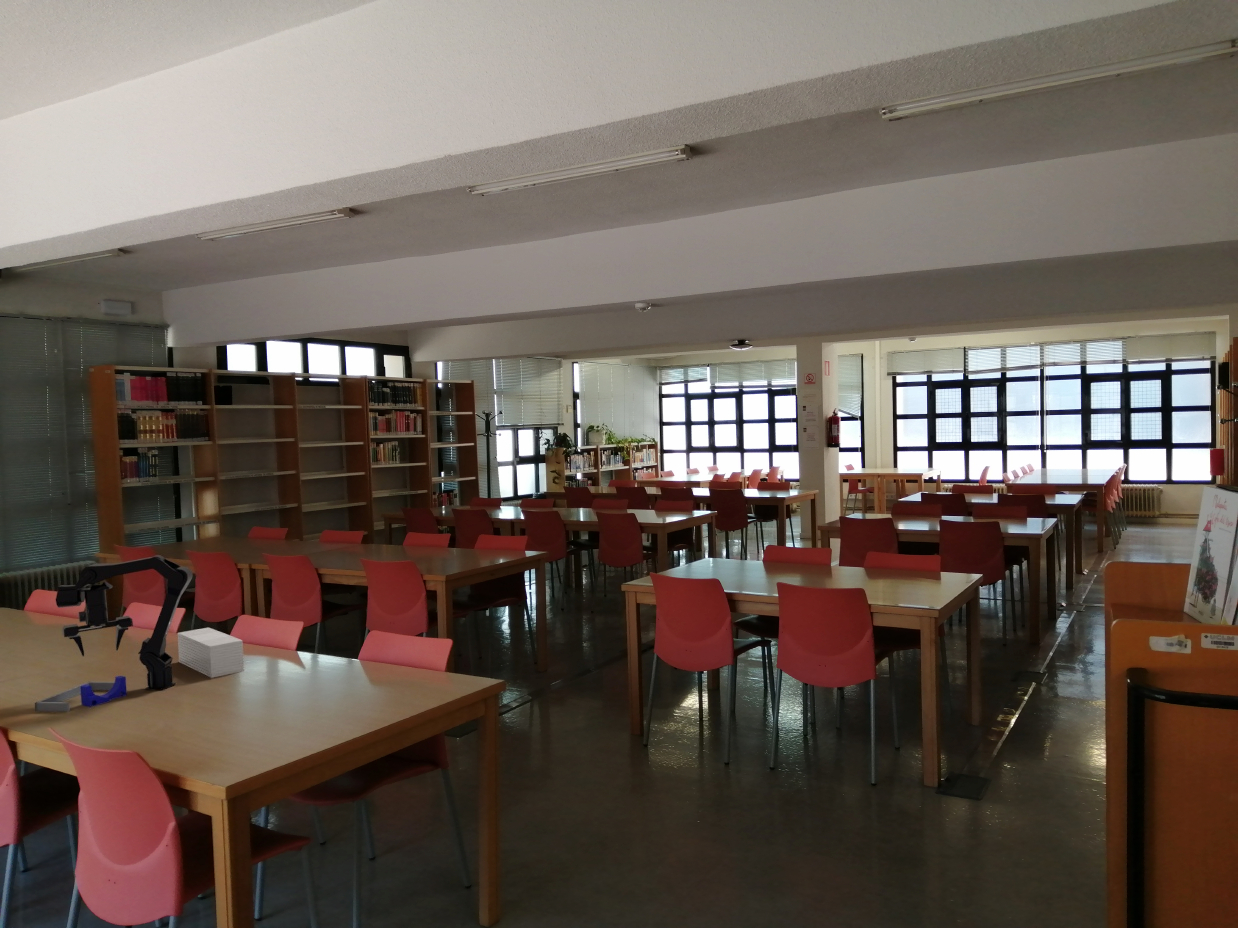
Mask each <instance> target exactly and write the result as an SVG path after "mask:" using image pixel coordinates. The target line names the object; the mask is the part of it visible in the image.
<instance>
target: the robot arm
mask: <svg viewBox="0 0 1238 928" xmlns="http://www.w3.org/2000/svg"><path fill="white" fill-rule="evenodd" d="M149 570H154V571H156V572H157V573H159V575H160V576H162V578H165V579H166V580H167V584H166V596H165V599H164V601H163V604H162V607H161V609H160V612H159V616H158V618H157V619H156V623H155V627H154V629H153V632H152V634H151V637H149V636H148V637H147V638H145V639H144V640H143V641H142V643H141V647H140V651H139V652H138V655H139V657H138V659H139V661H140V663H141V664H142V665H144V666H145V668H146V670H147V673H146V679H147V686H146V687H145V690H150V691H151V690H160V691H161V690H166V689H169V688H170V687H173V686H174V685H177V683H176V682H175V681H173V668H172V666H170V665H172V663H173V659H174V658H173V657H172V656H171V655H170V654H168V653H167V652H166V646H167V636H168V633H169V630H170V627H171V624H172V622H173V620H174V616H175V613H176V612H177V611H176V610H177V607H178V605H179V603H180V599H181V597H182V595H183V593H184V592H185V591H186V589H187V587H188V586H189V584H190V582H191V580H192V579H193V577H194V576H193V575H194V574H193V573H194V572H193V571H192V570H191V569H190V568H189V567H187V566H181V565H179V564H178V563H176V562H174V561H171V560H169V559H167V558H165V557H164V556H162V555H160V554H156V555H154V556H150V557H144V558H140V559H135V560H134V559H133V560H128V561H123V562H117V563H107V562H106V563H93V564H90V565H88V566H85V567H84V568H82V570H81V571H80V578H79V579H78V580H77V581H76V583H75V584H70V585H59V586H57V591H56V595H55V597H56V598H55V604H56V606H57V608H61V609H62V608H70V607H79V606H80V607H81V605H82V603H84V604H85V610H83V611H79V612H78V621H79V623H85V625H78V624H77V623H75V624H73V623H72V624H67V625H64V626H62V628H61V629H62V630H61V632H62V636H63V638H68V639H69V640H73V641H74V642H75V644H76V646H77V648H78V650H79V652H80V653H81V657H85V650H84V646H83V641H82V638H81V635H80V633H82V632H88V631H94V630H100V629H107V628H113V627H115V651H116V652H117V651H118V650H119V647H120V644H121V641H122V638H123V637H124V634H125V632H126V631H128V630H129V628H130V627H133V626H134V623H133V622H134V621H133V618H131V617H130V615H125V616H119V617H116V618H115V620H110V621H109V619H108V617H109V616H108V607H107V606H108V603H107V594H106V590H107V591H108V590H110V589H112V588H113V587H114V586H113V584H111V583H108V581H107V579H111V578H113V577H117V576H122V575H128V574H133V573H138V572H143V571H149ZM102 581H103V582H102ZM99 582H100V584H97V583H99ZM101 582H102V583H101ZM90 585H91V586H90ZM87 586H90V587H87ZM85 587H86V588H85Z"/></svg>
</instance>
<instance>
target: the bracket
mask: <svg viewBox="0 0 1238 928" xmlns="http://www.w3.org/2000/svg"><path fill="white" fill-rule="evenodd" d="M114 683H115V681H88V682H85V683H83V684H79V685H77V686H75V687H72V688H70V689H67V690H64V691H62V692H60V693H59V692H58V693H57V694H55V695H52V696H49V697H46V698H44V699H40V700H39V701H36V702H34V711H35V712H55V713H56V712H63V713H65V712H66V713H67V712H70V711H71V708H70V702H66V700H69V699H72V698H74V697H77V696H79V695H81V687H80V686H82V685H90V686H91V688H92V691H110V690H111V688H112V687H113V685H114ZM64 701H65V702H64Z"/></svg>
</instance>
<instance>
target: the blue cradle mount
mask: <svg viewBox="0 0 1238 928" xmlns="http://www.w3.org/2000/svg"><path fill="white" fill-rule="evenodd" d="M114 678H115V681H114V682H115V683H114V685H113V687H112V688H111V690H108V691H106V693H104V694H102V695H98V694H95V692H93V691H94V690H92V688H91V686H90V685H82V684H81V685H82V686H80V685H79V686H80V687H81V694H80V702H81V706H84V707H89V708H90V707H93V706H94V707H95V706H98V705H102V704H105V703H110V702H111V700H115V699H119V698H121V697H125V696H127V695H128V694H127V677H126V676H124V675H117V676H115V677H114Z"/></svg>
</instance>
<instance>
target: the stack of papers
mask: <svg viewBox="0 0 1238 928" xmlns="http://www.w3.org/2000/svg"><path fill="white" fill-rule="evenodd" d="M177 643H178V644H177V645H178V646H177V647H178V649H177V650H178V662H179V663H180V664H182V665H184V666H186V667H189V668H191V669H193V670H195V671H196V672H199V673H201V674H202V675H205V676H207V677H209V678H216V677H222V676H223V677H224V676H228V675H232V674H237V673H241V672H244V671H245V664H244V661H245V660H244V644H243V639H240V638H237V637H236V636H232V635H230V634H227V633H224V632H222V631H218V630H217V629H214V628H211V627H204V628H199V629H197V628H196V629H192V630H186V631H181V632H177Z"/></svg>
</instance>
